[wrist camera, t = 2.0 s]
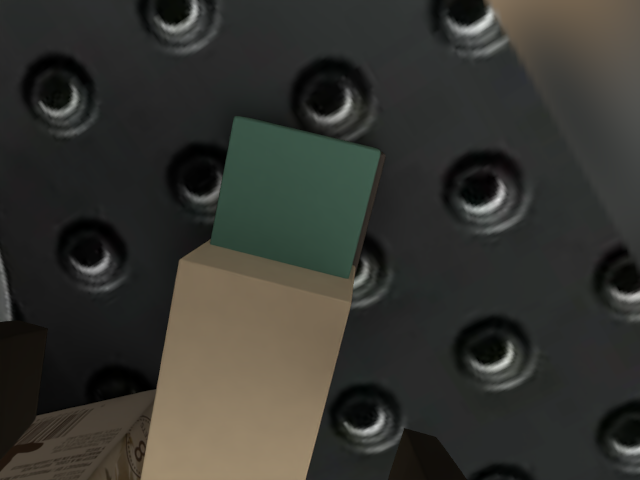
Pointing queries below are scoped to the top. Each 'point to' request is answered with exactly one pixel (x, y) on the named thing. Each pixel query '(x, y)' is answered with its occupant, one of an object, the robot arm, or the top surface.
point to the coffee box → (84, 442)
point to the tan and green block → (262, 308)
